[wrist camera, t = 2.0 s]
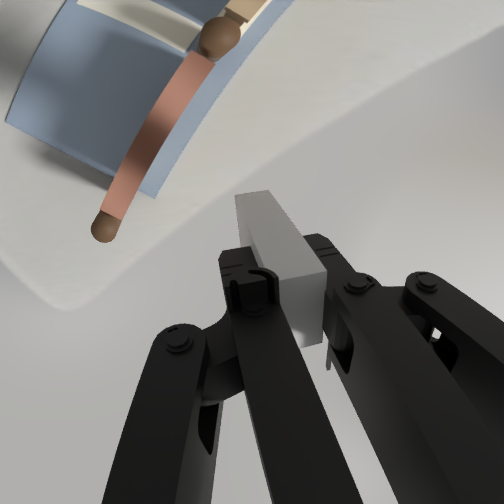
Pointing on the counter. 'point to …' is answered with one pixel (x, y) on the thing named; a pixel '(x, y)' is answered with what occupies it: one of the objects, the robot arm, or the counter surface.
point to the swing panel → (149, 144)
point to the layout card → (124, 77)
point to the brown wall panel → (226, 28)
